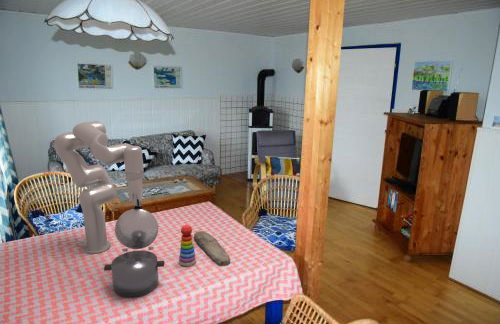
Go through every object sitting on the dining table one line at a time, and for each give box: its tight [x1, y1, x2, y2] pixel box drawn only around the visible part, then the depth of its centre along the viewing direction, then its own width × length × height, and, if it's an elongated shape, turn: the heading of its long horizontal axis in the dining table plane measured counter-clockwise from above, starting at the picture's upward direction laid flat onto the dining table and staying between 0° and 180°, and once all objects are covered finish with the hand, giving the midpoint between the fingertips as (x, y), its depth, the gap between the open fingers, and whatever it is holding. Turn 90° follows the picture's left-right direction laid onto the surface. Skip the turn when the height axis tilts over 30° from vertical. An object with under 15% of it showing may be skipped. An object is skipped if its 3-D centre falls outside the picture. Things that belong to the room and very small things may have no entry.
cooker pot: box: [103, 246, 165, 299], centre depth 147 cm, size 24×19×12 cm
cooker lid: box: [114, 208, 159, 250], centre depth 154 cm, size 18×18×4 cm
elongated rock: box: [193, 230, 231, 267], centre depth 177 cm, size 35×5×10 cm
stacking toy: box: [178, 224, 197, 267], centre depth 163 cm, size 8×8×19 cm
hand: (138, 214), depth 155 cm, fingers closed
